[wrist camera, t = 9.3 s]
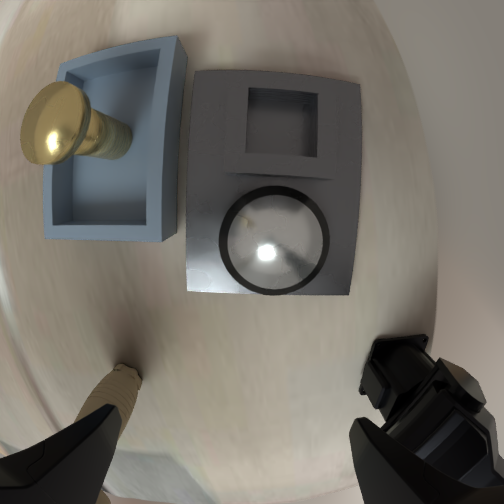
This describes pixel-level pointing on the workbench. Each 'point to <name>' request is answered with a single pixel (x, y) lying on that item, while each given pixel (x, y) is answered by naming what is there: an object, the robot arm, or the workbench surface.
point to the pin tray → (138, 156)
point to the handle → (114, 400)
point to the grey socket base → (272, 183)
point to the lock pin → (70, 128)
